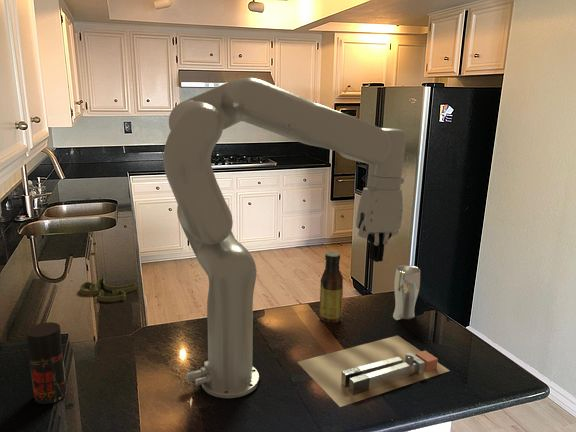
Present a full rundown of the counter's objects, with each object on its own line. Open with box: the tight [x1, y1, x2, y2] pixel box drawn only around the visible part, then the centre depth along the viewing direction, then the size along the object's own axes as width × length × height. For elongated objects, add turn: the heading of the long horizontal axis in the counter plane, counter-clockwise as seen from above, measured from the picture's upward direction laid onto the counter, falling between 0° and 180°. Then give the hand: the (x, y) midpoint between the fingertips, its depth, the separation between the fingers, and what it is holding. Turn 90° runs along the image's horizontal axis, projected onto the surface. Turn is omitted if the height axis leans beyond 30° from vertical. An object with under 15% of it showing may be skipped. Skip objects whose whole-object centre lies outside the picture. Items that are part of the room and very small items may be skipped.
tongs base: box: [349, 352, 425, 396], centre depth 102 cm, size 19×5×4 cm, turn 117°
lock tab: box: [415, 350, 439, 372], centre depth 108 cm, size 3×4×2 cm
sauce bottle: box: [319, 251, 344, 324], centre depth 130 cm, size 6×6×20 cm
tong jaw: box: [341, 357, 403, 387], centre depth 103 cm, size 15×2×3 cm, turn 115°
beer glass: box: [392, 264, 421, 321], centre depth 133 cm, size 7×7×15 cm
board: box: [296, 335, 451, 408], centre depth 108 cm, size 30×18×1 cm, turn 117°
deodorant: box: [25, 321, 67, 402], centre depth 94 cm, size 6×6×15 cm
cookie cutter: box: [79, 277, 139, 303], centre depth 146 cm, size 18×12×2 cm, turn 71°
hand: (375, 259), depth 110 cm, fingers closed
